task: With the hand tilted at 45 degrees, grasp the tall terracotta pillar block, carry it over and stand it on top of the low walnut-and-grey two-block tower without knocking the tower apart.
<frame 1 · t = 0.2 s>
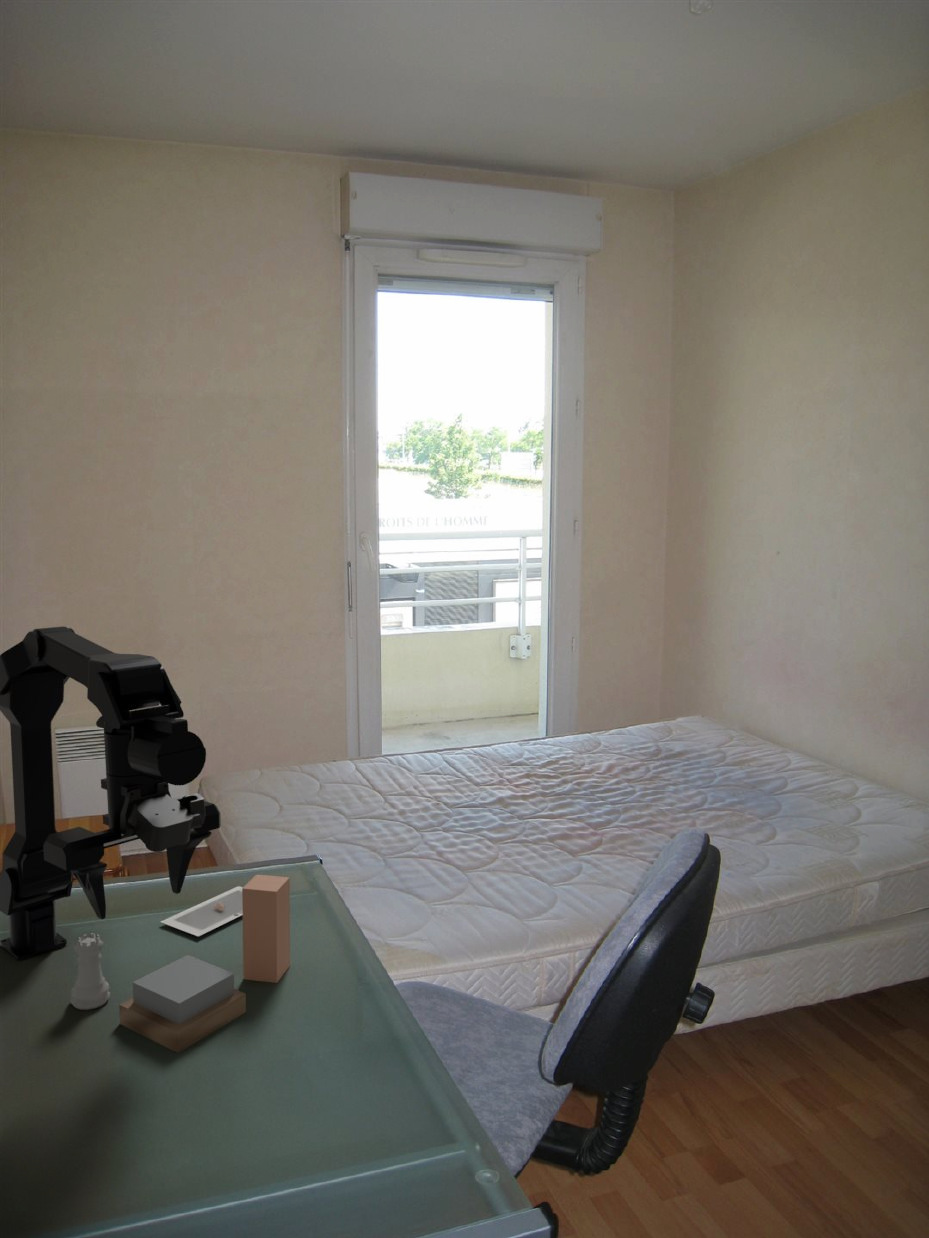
hand: (140, 905, 105), 14 cm above the table, tool pointing down, fingers open, 9 cm apart
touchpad: (219, 918, 136), on the table
pillar: (267, 972, 119), on the table
tower top: (184, 997, 108), point 2 cm above the table, touching tower base
tower base: (183, 1023, 109), on the table, touching tower top
rook chess piece: (90, 1002, 112), on the table
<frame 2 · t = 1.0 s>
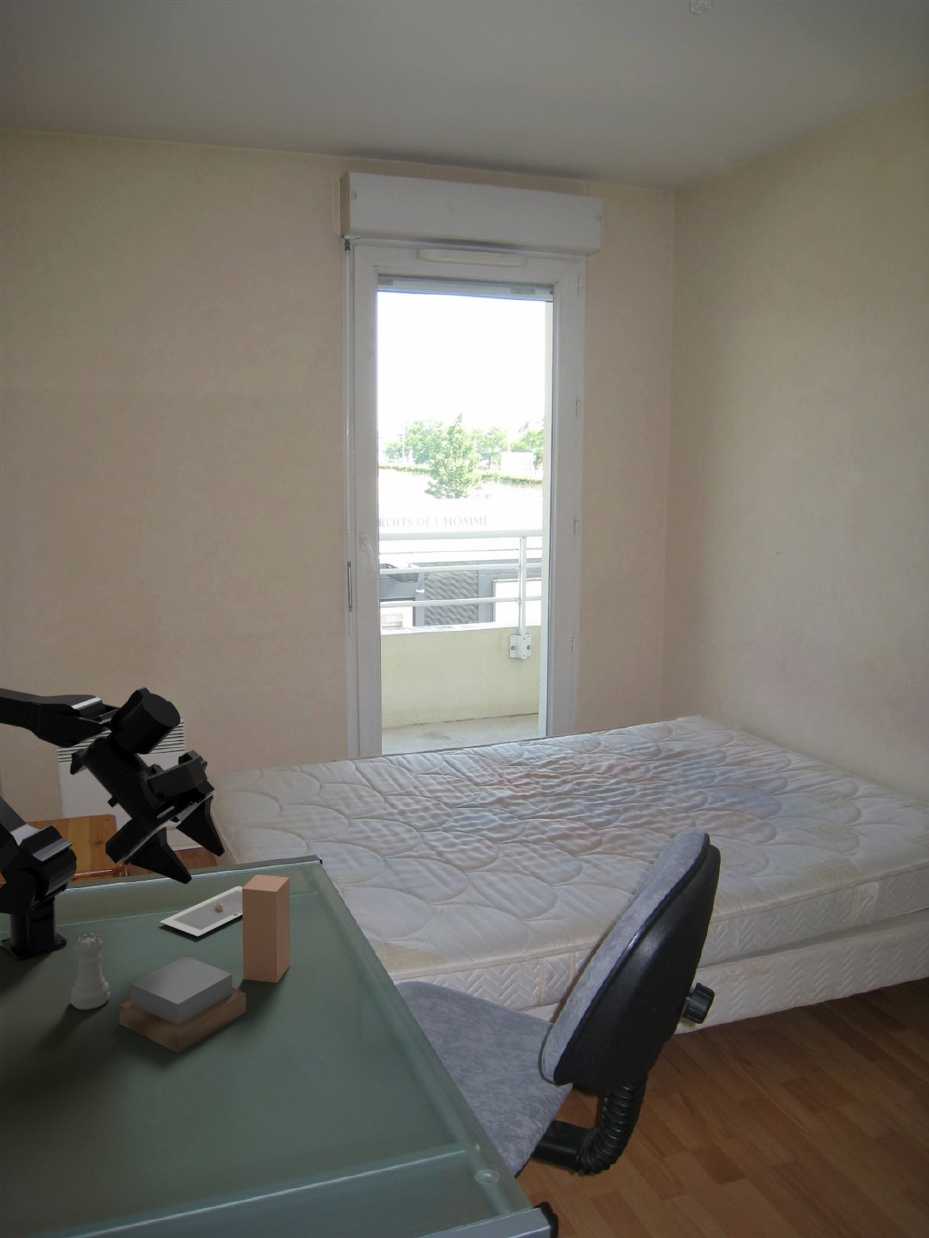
hand: (206, 867, 119), 13 cm above the table, tool tilted 45°, fingers open, 9 cm apart
nothing on the table moved.
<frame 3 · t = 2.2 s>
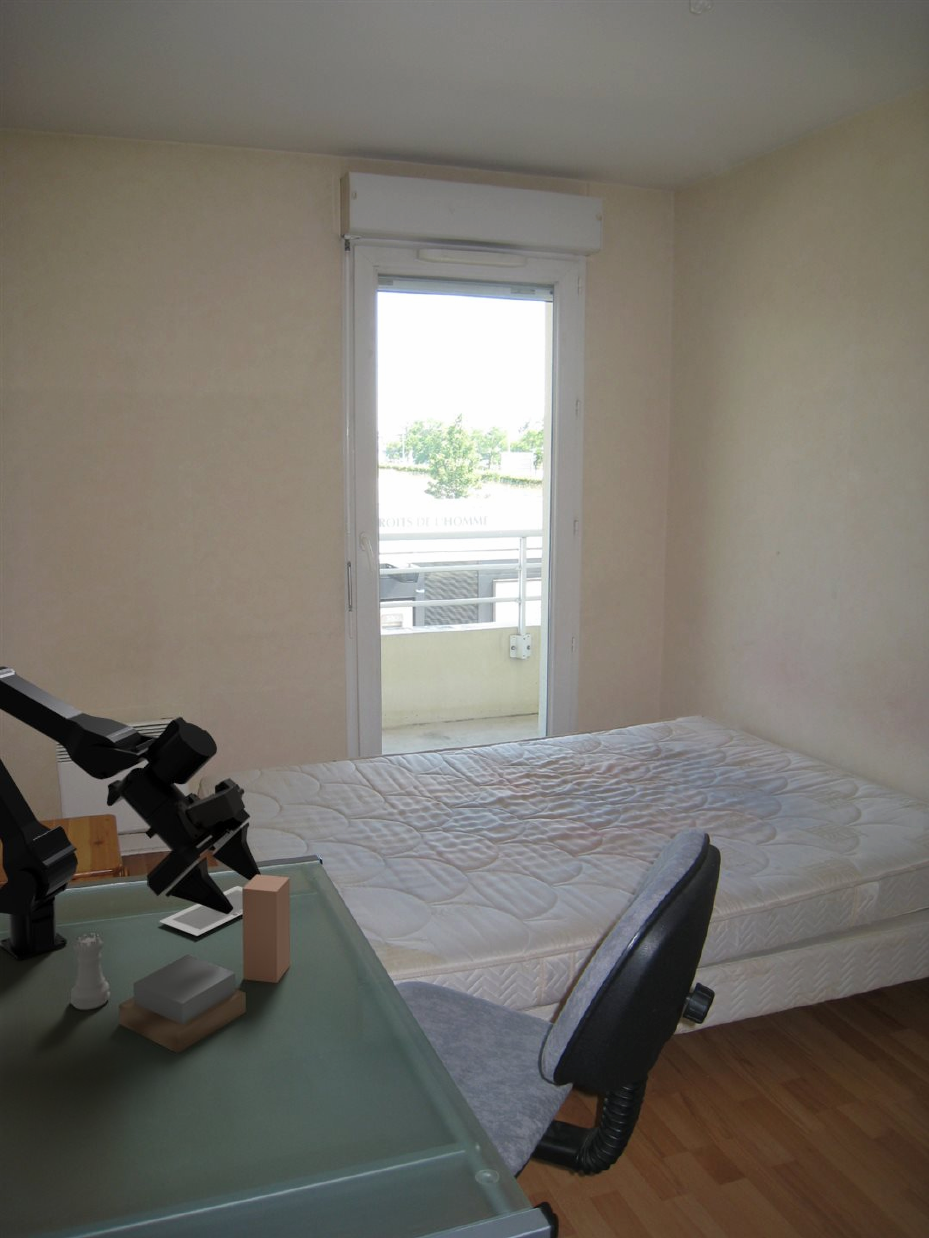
hand: (246, 896, 119), 10 cm above the table, tool tilted 45°, fingers open, 9 cm apart
nothing on the table moved.
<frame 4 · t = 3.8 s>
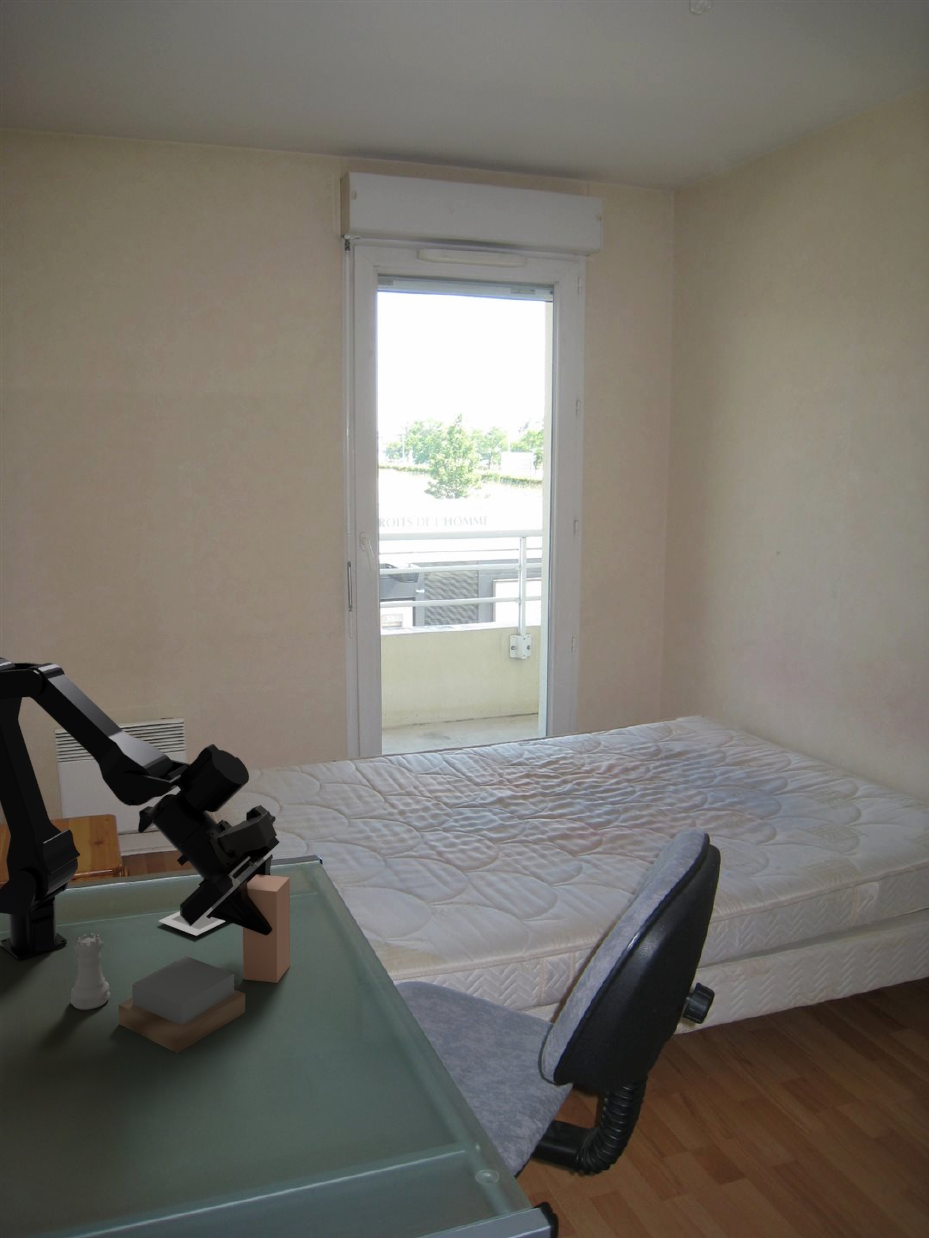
hand: (277, 924, 118), 7 cm above the table, tool tilted 45°, fingers closed on pillar, 4 cm apart
pillar: (267, 972, 119), on the table, touching gripper
everything else where it was.
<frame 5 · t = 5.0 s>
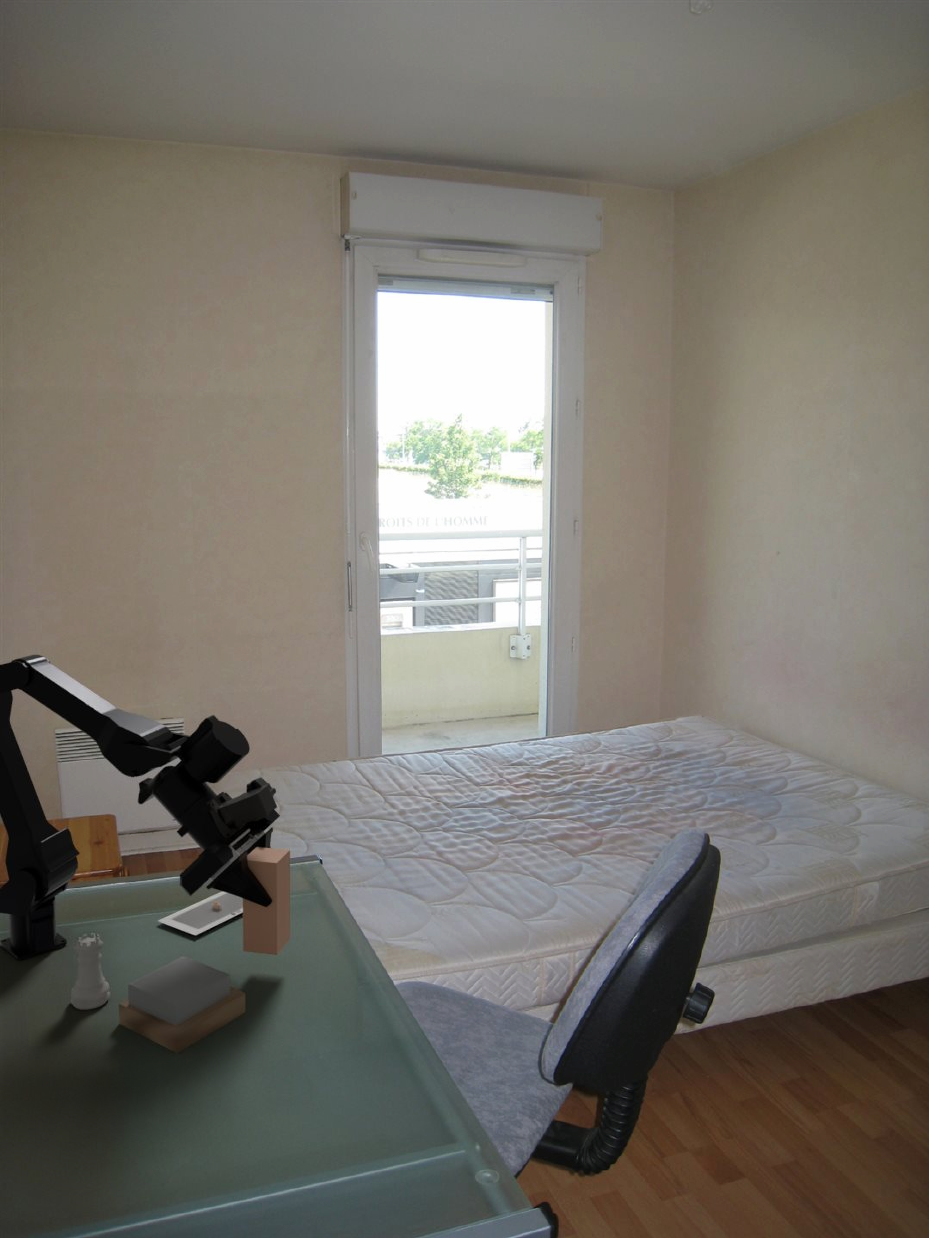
hand: (277, 896, 118), 10 cm above the table, tool tilted 45°, fingers closed on pillar, 4 cm apart
pillar: (267, 944, 119), point 4 cm above the table, touching gripper
tower top: (180, 999, 108), point 2 cm above the table
tower base: (183, 1022, 108), on the table
everything else where it was.
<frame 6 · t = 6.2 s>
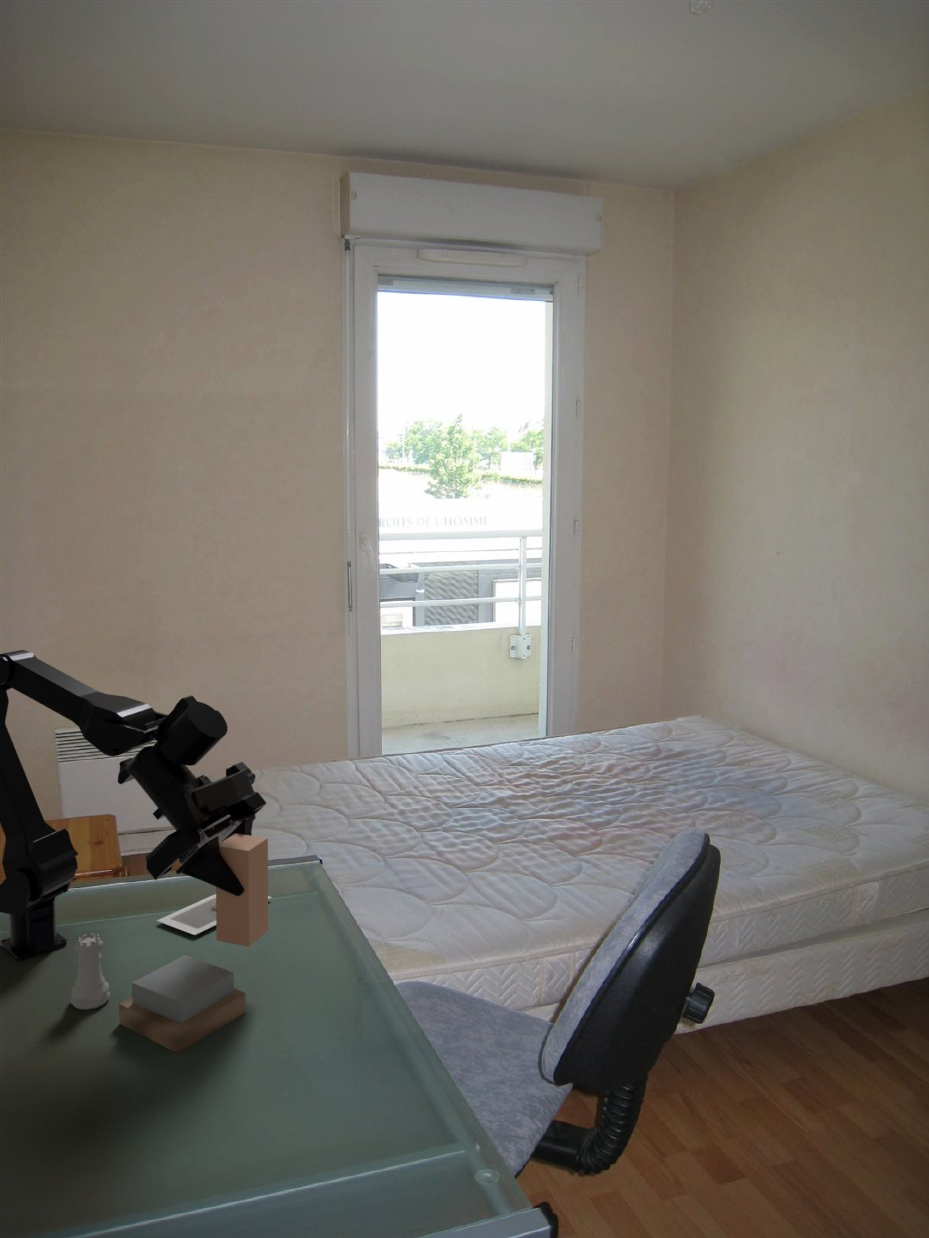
hand: (252, 885, 113), 13 cm above the table, tool tilted 45°, fingers closed on pillar, 4 cm apart
pillar: (242, 935, 114), point 7 cm above the table, touching gripper
everything else where it was.
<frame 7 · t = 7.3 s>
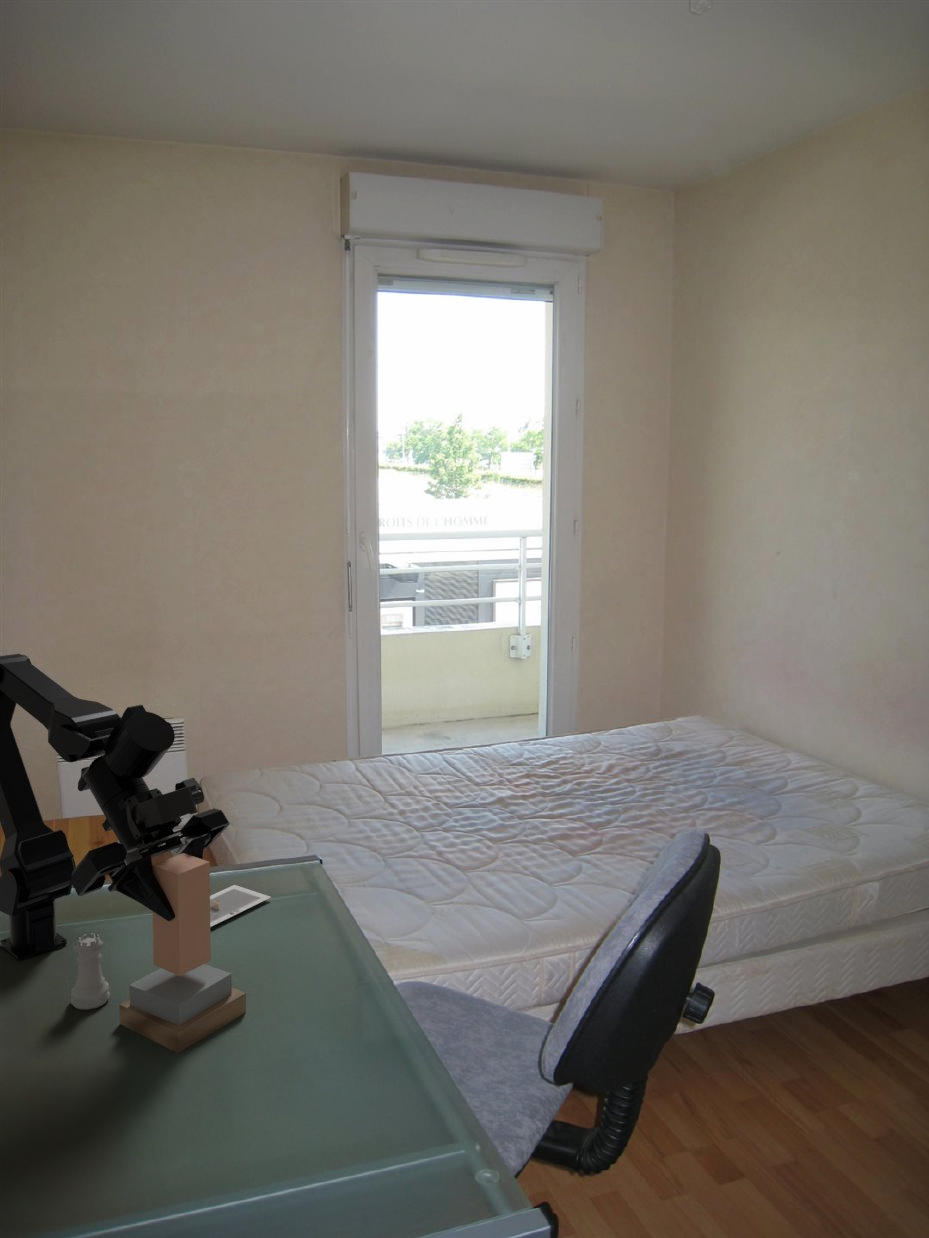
hand: (189, 911, 106), 13 cm above the table, tool tilted 45°, fingers closed on pillar, 4 cm apart
pillar: (182, 962, 108), point 7 cm above the table, touching gripper
tower top: (181, 999, 108), point 2 cm above the table, touching tower base
tower base: (183, 1022, 108), on the table, touching tower top
everything else where it was.
when the fingers open (13 cm above the table, at t = 7.8 s): pillar drops 2 cm, point 5 cm above the table.
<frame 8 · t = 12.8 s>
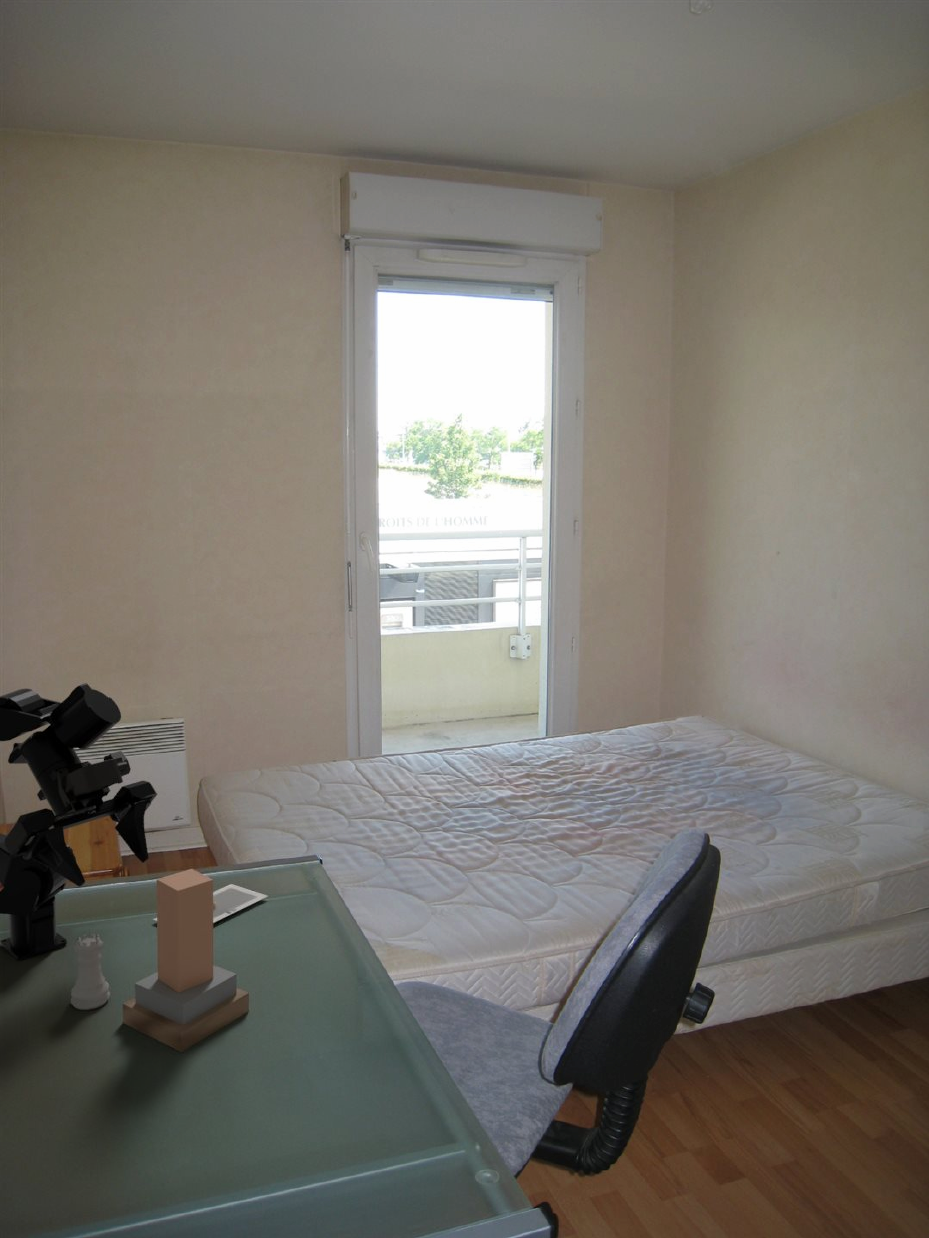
hand: (115, 872, 116), 14 cm above the table, tool tilted 45°, fingers open, 9 cm apart
pillar: (185, 978, 108), point 5 cm above the table
tower top: (186, 998, 108), point 2 cm above the table
tower base: (186, 1022, 109), on the table
at the end: pillar 0.1 cm off-centre on the tower top, point 2.6 cm above the tower top's base; pillar tilted 1°; tower top 0.2 cm off-centre on the tower base, point 3.0 cm above the tower base's base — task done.
